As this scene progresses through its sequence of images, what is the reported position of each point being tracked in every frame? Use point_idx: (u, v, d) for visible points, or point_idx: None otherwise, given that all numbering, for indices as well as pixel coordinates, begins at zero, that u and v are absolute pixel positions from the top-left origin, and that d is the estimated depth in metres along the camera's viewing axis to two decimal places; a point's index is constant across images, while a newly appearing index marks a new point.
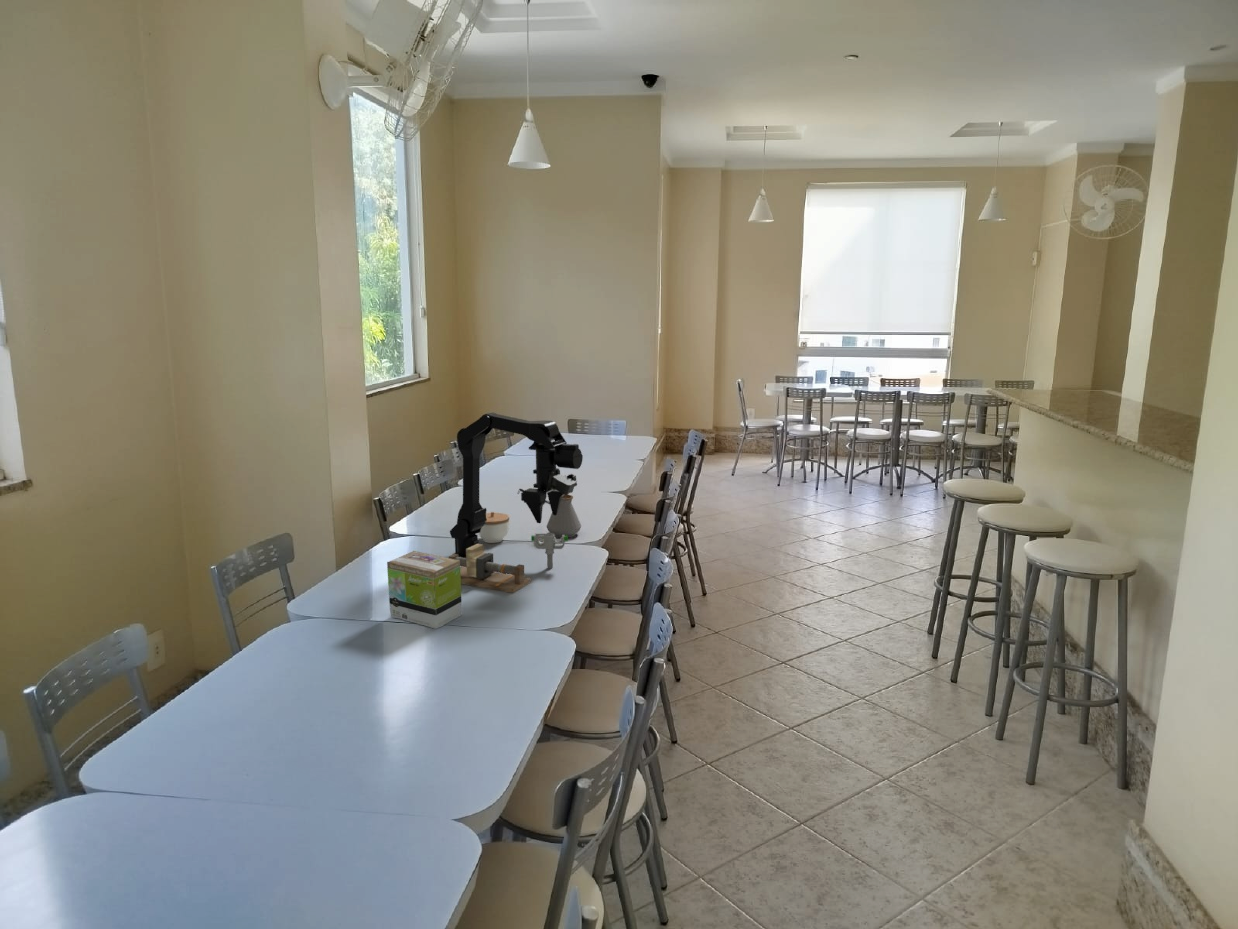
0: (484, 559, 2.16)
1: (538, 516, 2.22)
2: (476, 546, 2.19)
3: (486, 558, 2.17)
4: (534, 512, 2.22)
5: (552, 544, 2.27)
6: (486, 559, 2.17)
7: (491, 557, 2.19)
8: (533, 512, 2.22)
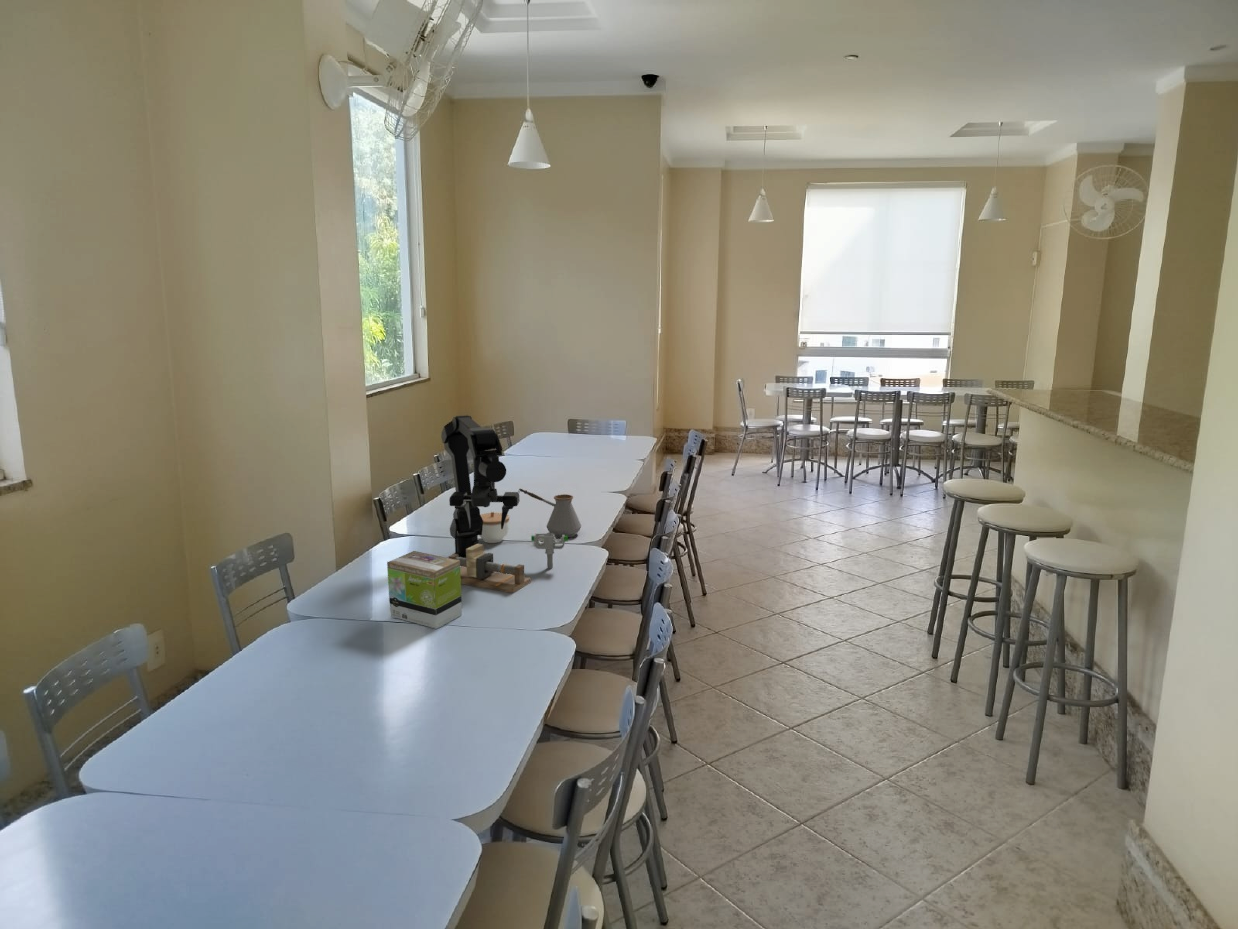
0: (484, 559, 2.16)
1: None
2: (476, 546, 2.19)
3: (486, 558, 2.17)
4: None
5: (552, 544, 2.27)
6: (486, 559, 2.17)
7: (491, 557, 2.19)
8: None
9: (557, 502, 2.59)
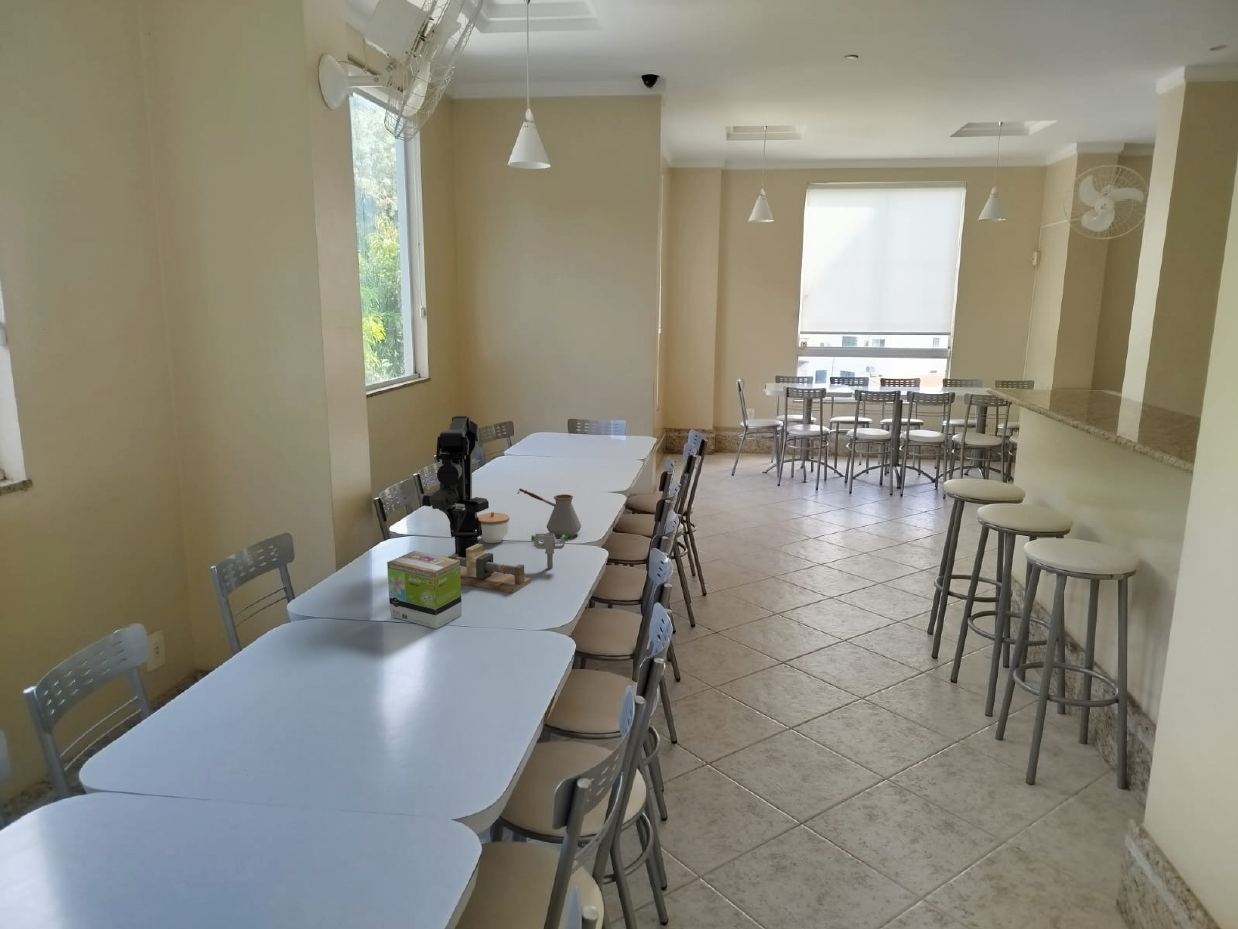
0: (484, 559, 2.16)
1: None
2: (476, 546, 2.19)
3: (486, 558, 2.17)
4: None
5: (552, 544, 2.27)
6: (486, 559, 2.17)
7: (491, 557, 2.19)
8: None
9: (557, 502, 2.59)
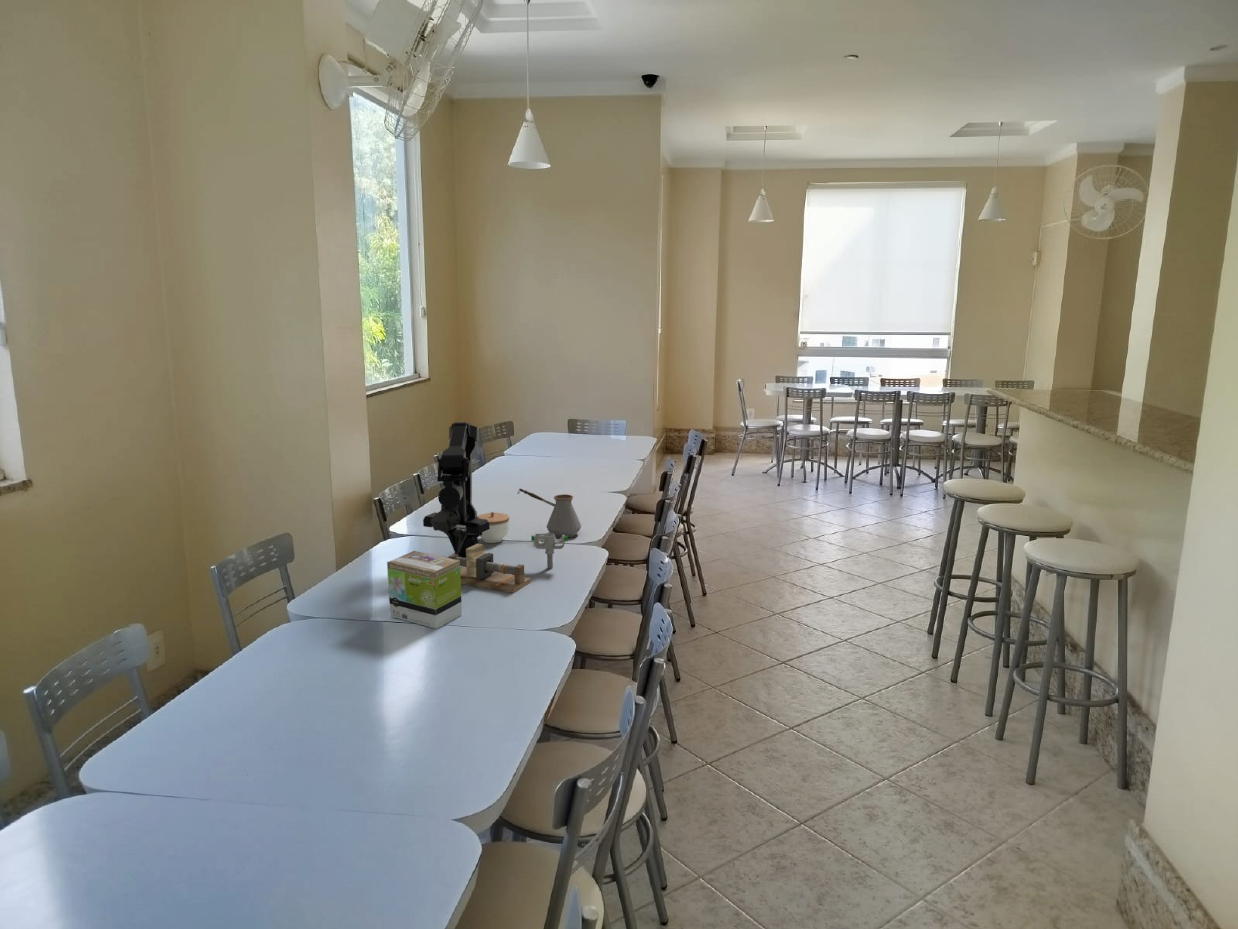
0: (484, 559, 2.16)
1: None
2: (476, 546, 2.19)
3: (486, 558, 2.17)
4: None
5: (552, 544, 2.27)
6: (486, 559, 2.17)
7: (491, 557, 2.19)
8: None
9: (557, 502, 2.59)
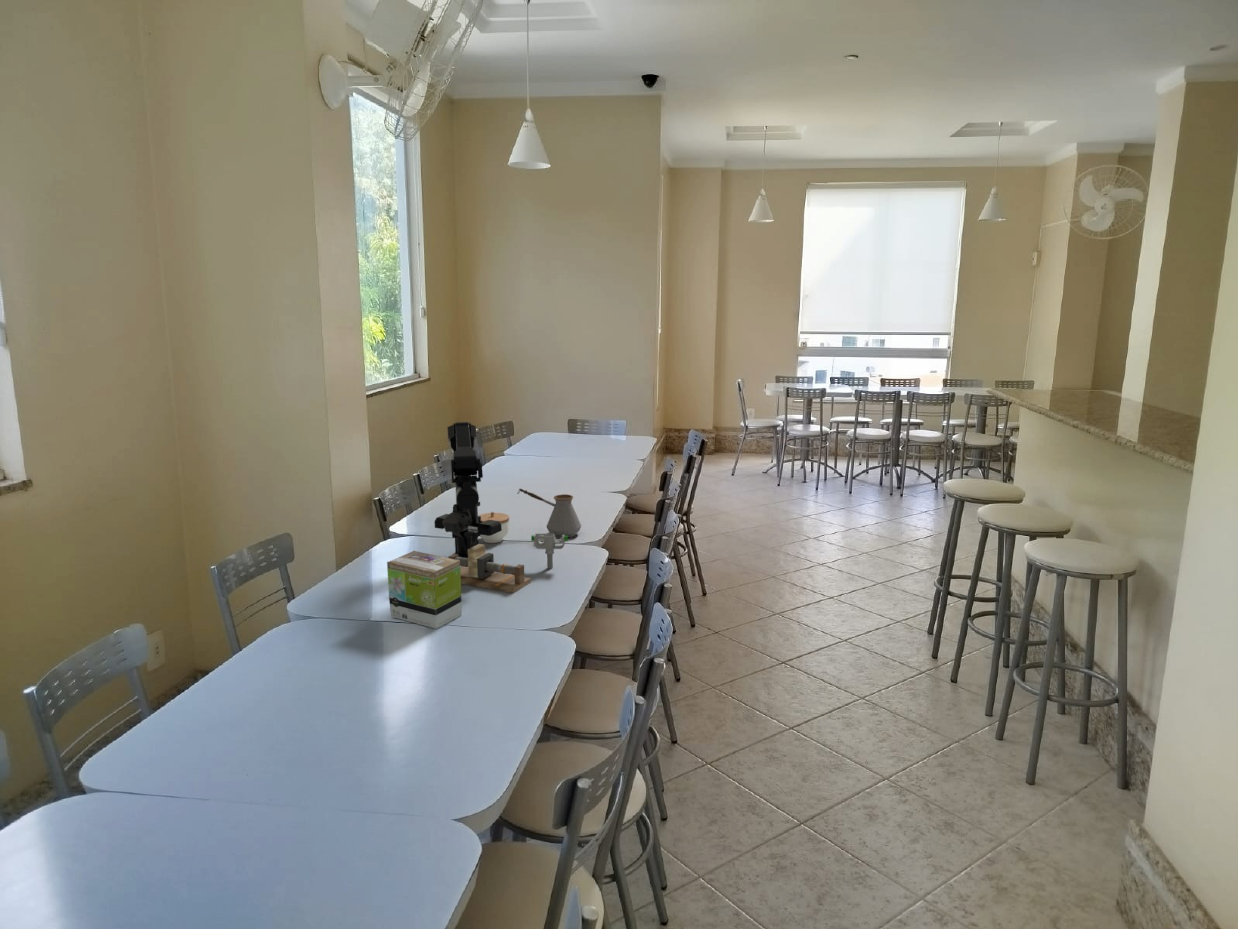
0: (484, 559, 2.16)
1: None
2: (478, 546, 2.19)
3: (486, 558, 2.17)
4: None
5: (552, 544, 2.27)
6: (486, 559, 2.17)
7: (491, 557, 2.19)
8: None
9: (557, 502, 2.59)
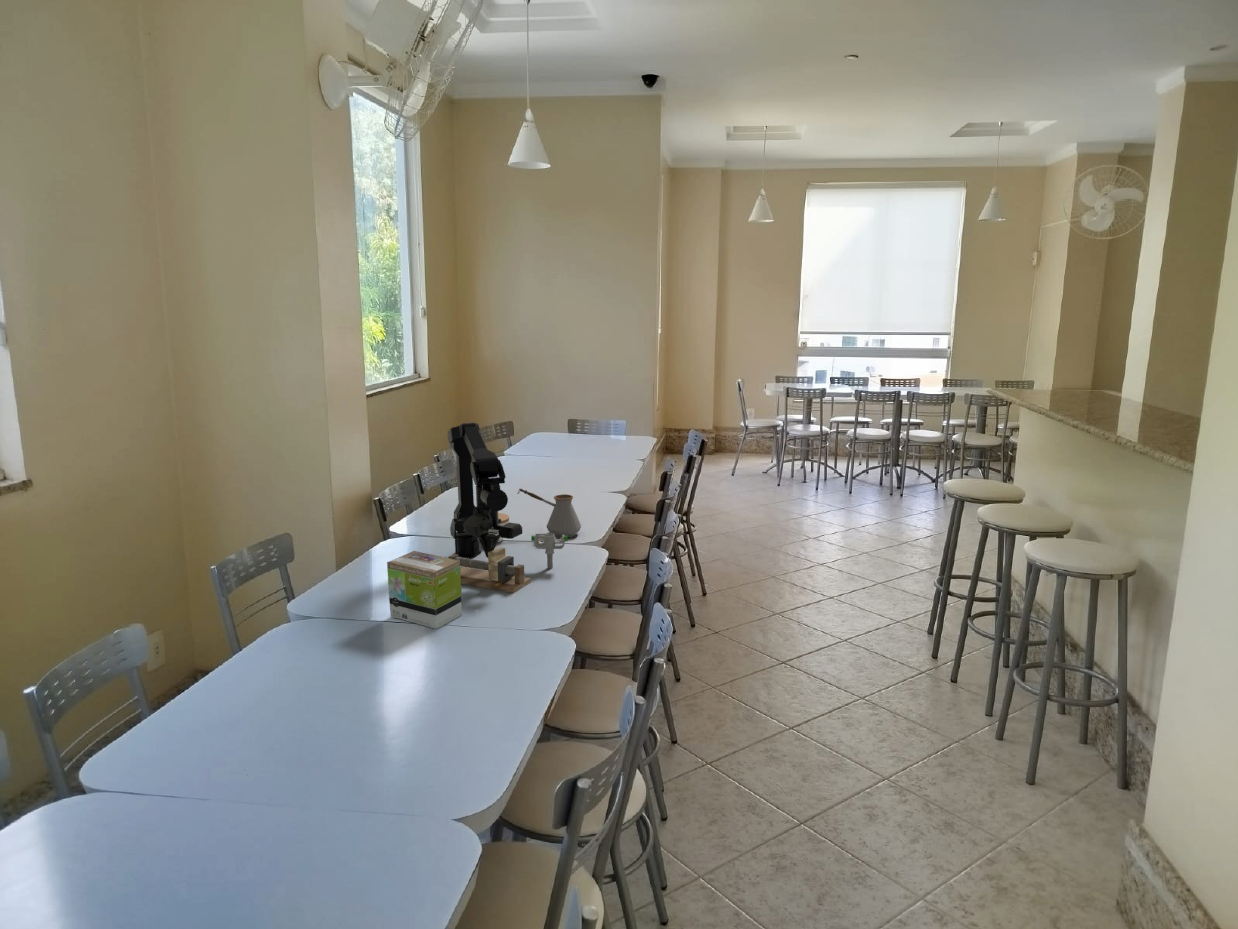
0: (505, 562, 2.13)
1: None
2: (498, 549, 2.16)
3: (507, 561, 2.14)
4: None
5: (552, 544, 2.27)
6: (507, 562, 2.14)
7: (512, 560, 2.17)
8: None
9: (557, 502, 2.59)
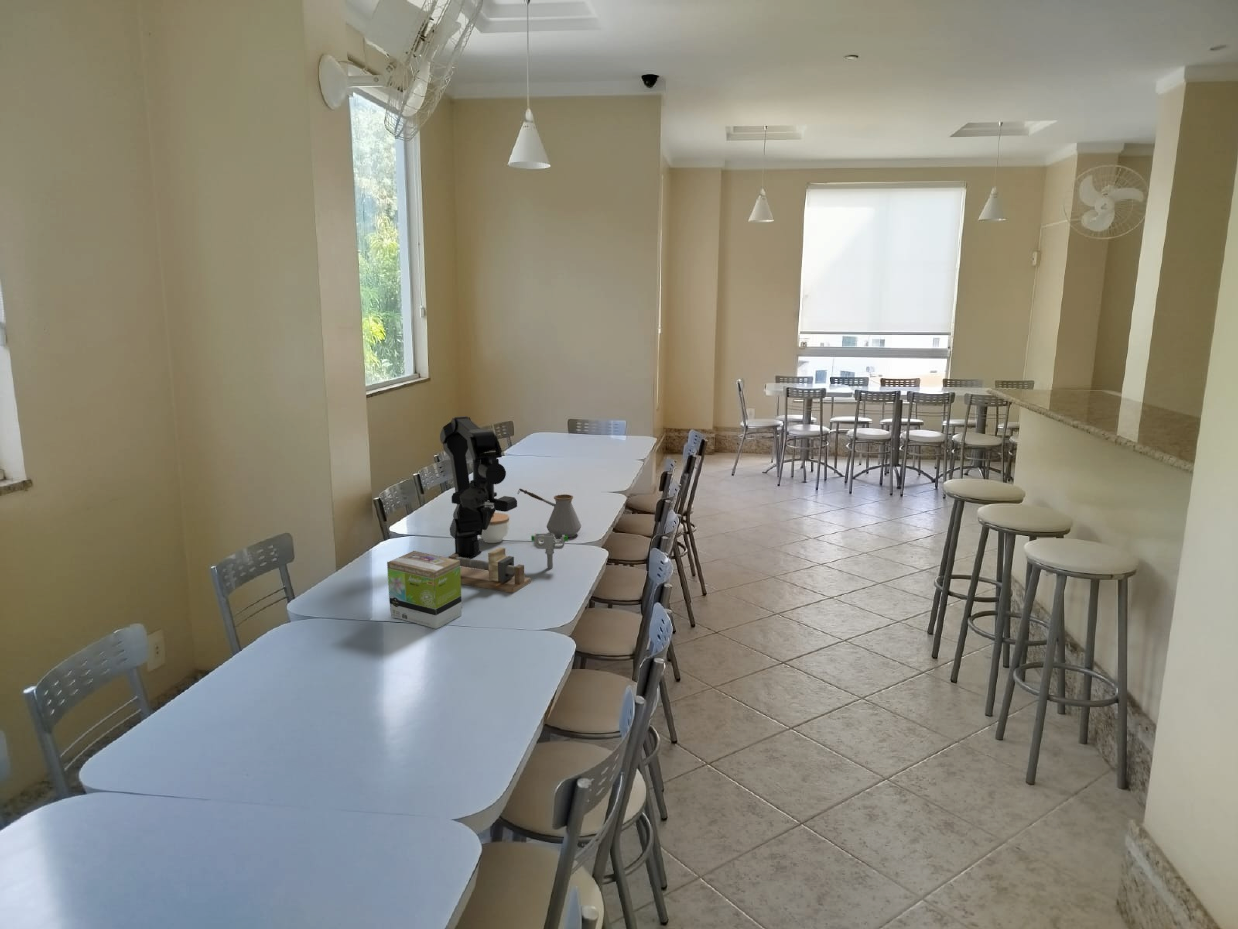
0: (505, 562, 2.13)
1: None
2: (498, 549, 2.16)
3: (507, 561, 2.14)
4: None
5: (552, 544, 2.27)
6: (507, 562, 2.14)
7: (512, 560, 2.17)
8: None
9: (557, 502, 2.59)
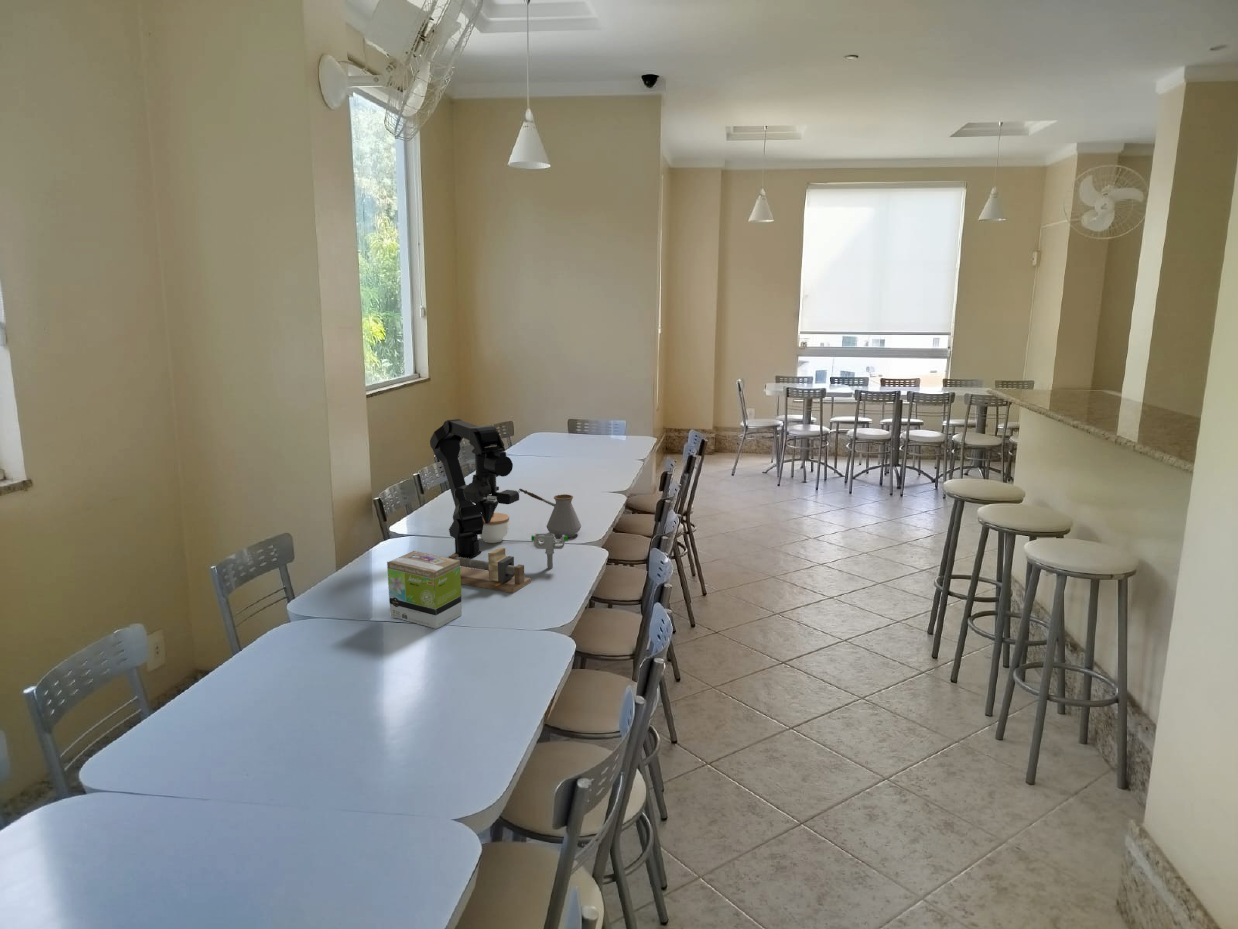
0: (505, 562, 2.13)
1: None
2: (498, 549, 2.16)
3: (507, 561, 2.14)
4: None
5: (552, 544, 2.27)
6: (507, 562, 2.14)
7: (512, 560, 2.17)
8: None
9: (557, 502, 2.59)
